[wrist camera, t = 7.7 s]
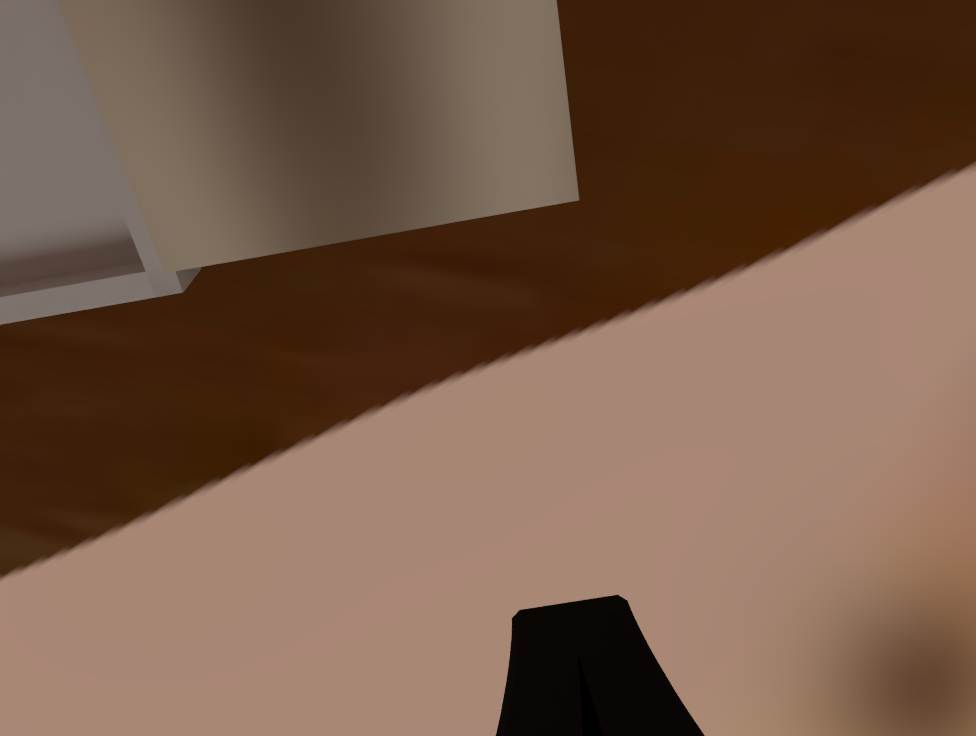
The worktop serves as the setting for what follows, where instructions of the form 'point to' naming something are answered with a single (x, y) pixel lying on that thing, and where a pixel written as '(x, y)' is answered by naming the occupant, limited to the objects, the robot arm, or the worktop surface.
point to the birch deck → (326, 116)
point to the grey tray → (63, 182)
